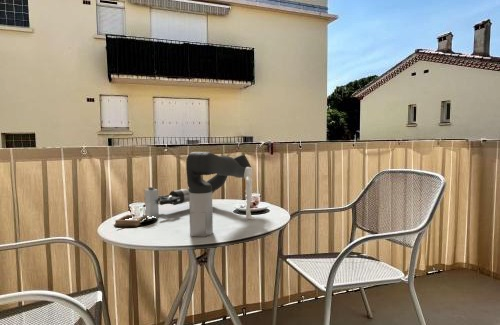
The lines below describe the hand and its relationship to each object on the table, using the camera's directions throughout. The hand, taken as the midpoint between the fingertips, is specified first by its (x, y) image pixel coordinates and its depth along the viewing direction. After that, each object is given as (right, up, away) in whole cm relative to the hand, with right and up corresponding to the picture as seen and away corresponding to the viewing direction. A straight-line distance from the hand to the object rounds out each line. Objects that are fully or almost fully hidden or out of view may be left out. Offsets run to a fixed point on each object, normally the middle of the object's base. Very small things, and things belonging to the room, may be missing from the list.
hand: (154, 201), depth 153 cm
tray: (-7, -8, -10) cm, 15 cm away
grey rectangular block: (-1, -8, -1) cm, 8 cm away
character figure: (+47, -8, -4) cm, 47 cm away
